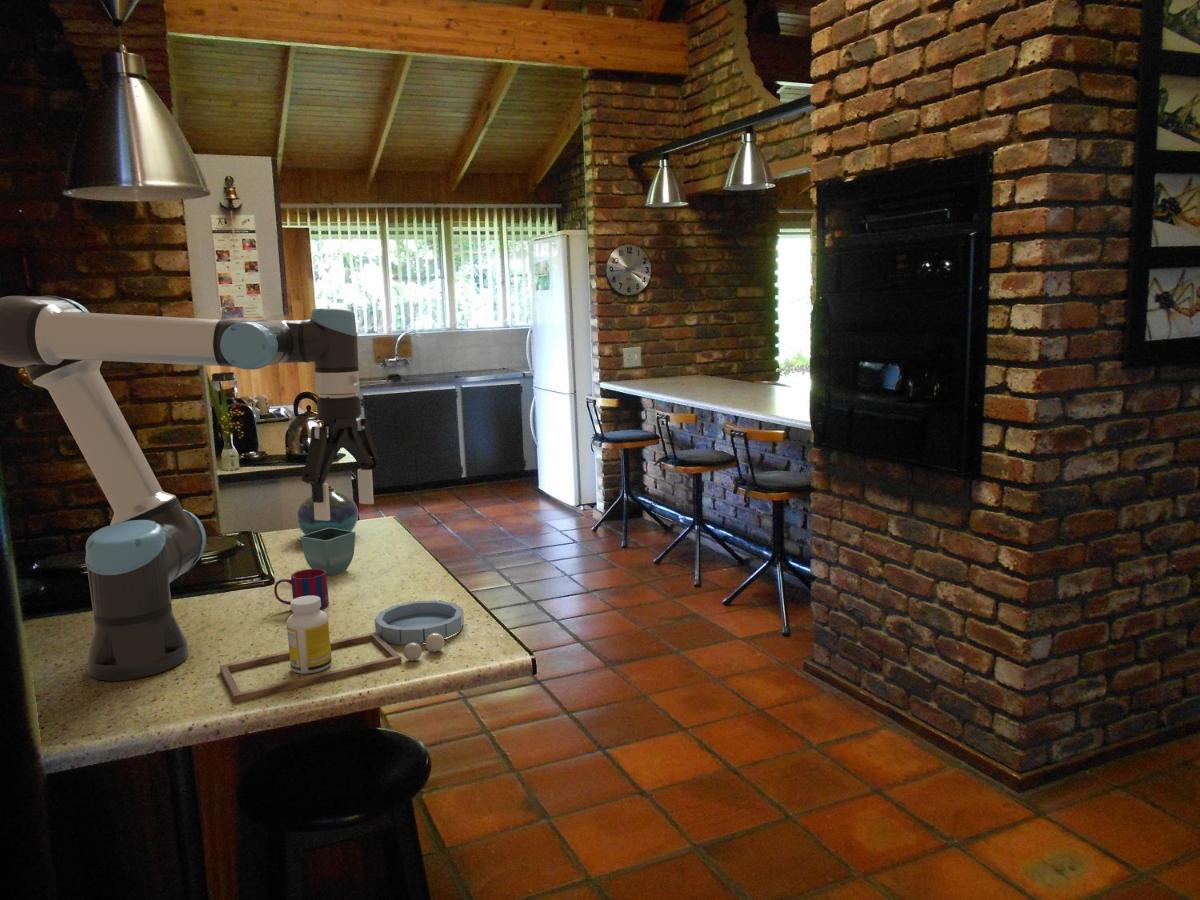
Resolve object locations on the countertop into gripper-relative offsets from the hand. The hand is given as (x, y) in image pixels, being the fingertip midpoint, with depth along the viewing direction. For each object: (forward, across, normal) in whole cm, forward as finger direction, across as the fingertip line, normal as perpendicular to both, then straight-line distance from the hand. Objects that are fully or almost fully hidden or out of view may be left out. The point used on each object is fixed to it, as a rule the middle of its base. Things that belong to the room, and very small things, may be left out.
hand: (345, 511), depth 162 cm
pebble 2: (+22, -7, -22) cm, 31 cm away
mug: (+22, +6, +16) cm, 28 cm away
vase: (+22, +55, +44) cm, 74 cm away
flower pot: (+22, +28, +25) cm, 44 cm away
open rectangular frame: (+22, -19, -5) cm, 29 cm away
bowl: (+22, +1, -14) cm, 26 cm away
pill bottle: (+22, -19, -5) cm, 29 cm away
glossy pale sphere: (+22, -12, -20) cm, 32 cm away
